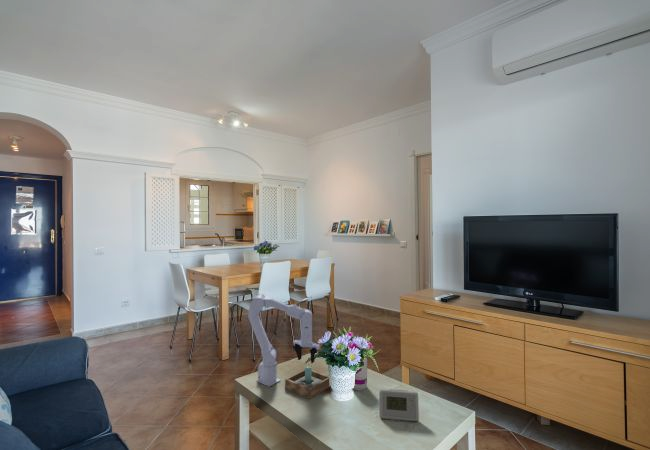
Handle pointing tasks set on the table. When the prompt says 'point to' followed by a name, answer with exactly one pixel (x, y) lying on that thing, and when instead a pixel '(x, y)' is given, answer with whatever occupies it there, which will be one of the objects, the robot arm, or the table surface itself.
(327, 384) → the box
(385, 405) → the digital clock
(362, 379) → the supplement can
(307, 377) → the peg
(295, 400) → the table surface
